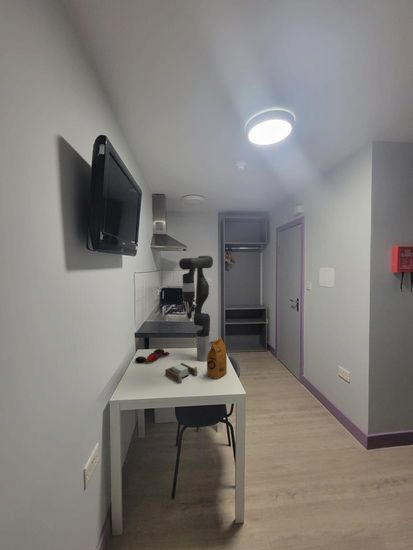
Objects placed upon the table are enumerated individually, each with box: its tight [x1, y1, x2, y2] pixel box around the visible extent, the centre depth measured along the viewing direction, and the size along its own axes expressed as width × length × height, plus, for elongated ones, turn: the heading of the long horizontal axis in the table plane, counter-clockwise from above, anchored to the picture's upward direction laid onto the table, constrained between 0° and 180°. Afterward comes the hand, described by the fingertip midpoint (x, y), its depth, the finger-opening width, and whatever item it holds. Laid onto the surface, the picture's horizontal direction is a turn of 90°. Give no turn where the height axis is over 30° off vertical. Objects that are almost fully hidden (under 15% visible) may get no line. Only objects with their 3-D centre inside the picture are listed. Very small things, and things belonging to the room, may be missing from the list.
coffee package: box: [206, 336, 228, 380], centre depth 144 cm, size 10×12×22 cm
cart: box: [171, 363, 190, 378], centre depth 144 cm, size 9×7×5 cm
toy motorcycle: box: [134, 348, 171, 364], centre depth 172 cm, size 25×5×16 cm
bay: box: [164, 363, 198, 384], centre depth 144 cm, size 14×15×5 cm
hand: (189, 318), depth 144 cm, fingers closed
